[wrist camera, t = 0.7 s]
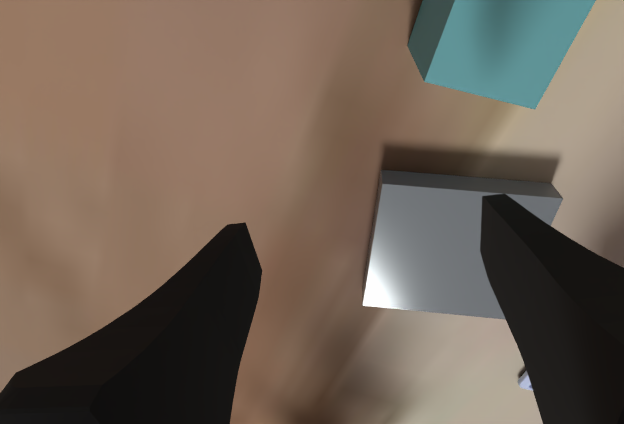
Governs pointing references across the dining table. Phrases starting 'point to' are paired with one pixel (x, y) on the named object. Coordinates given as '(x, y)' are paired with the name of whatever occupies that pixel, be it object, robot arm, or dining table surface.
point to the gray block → (439, 241)
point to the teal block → (495, 45)
